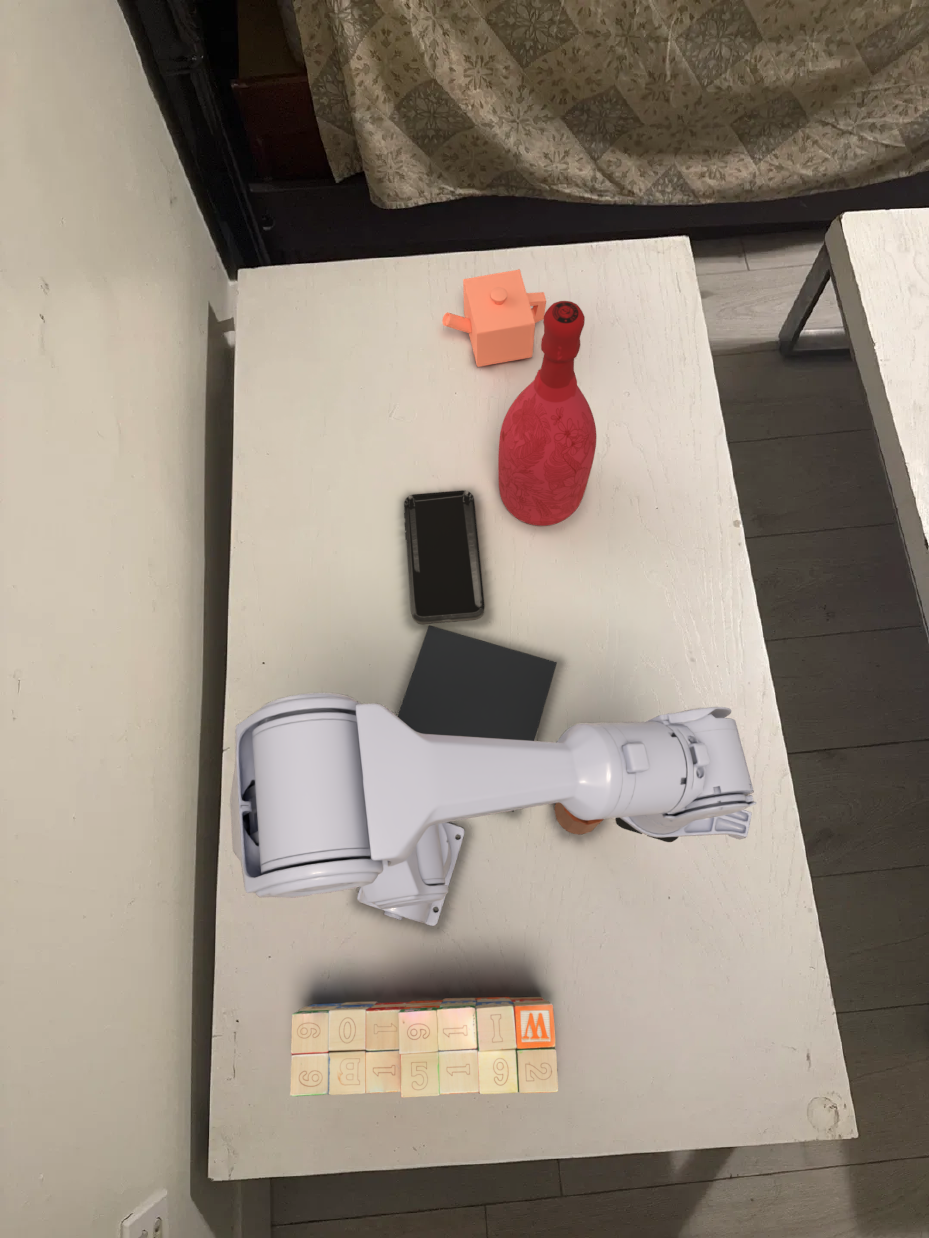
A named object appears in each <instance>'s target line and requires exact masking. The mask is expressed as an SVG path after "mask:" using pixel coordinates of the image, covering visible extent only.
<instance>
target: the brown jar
mask: <svg viewBox="0 0 929 1238" xmlns="http://www.w3.org/2000/svg"><path fill="white" fill-rule="evenodd" d="M553 810H554V815H555V818H556V821H557V823H558V824H559V826H560V827H561V828H562V829H564V830H565V831H566V832H568V833H569V834H570V833H571V834H574V835H579V836H580V835H584V834H588V833H591V832H593V831H594V829H596V828H597V827H598V826H599V825H600V824H601V823H602V822H603V821H604V820H605V819H595V820H582V819H579V818H577V817H575V816H574V815H572V814H571V813H570V812H569V811H568V810H567V809H566V808H565V807H564V806H563V805H562V804H561V803H560V802H558V803H554V808H553Z"/></svg>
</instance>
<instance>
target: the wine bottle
mask: <svg viewBox="0 0 929 1238" xmlns="http://www.w3.org/2000/svg"><path fill="white" fill-rule="evenodd" d="M585 318H586V316H585V315H584V313H583V310H582V309H581V307H580V306H579V305H578V304H577V303H575V302H573V301H570V300H559V301H555V302H553V303H552V304H551V305H549V307H548V308H547V309H546V310H545V314H544V319H543V320H542V321H543V322H542V323H543V335H542V337H541V341H540V350H541V351H542V353H543V357H542V362H541V367H540V368H539V369H538V370H537V372H536V375H535V377H534V379H533V380H532V382H530V383H529V384H528V385H527V386H525V388H524V389H523V390H522V391H521V392H520V393H519V394H518V395H517V396H516V398H515V399H514V401H513V402H512V403H511V405H510V406H509V408H508V410H507V412H506V414H505V416H504V418H503V421H502V423H501V427H500V432H499V439H498V441H499V442H498V454H497V455H498V462H497V463H498V465H497V466H498V467H497V469H498V470H497V471H498V490H499V495H500V498H501V501H502V503H503V505H504V507H505V508H506V510H507V511H508V512H509V513H510V515H512V516H513V517H514V518H516V519H517V520H519V521H521V522H523V523H525V524H529V525H532V526H537V527H538V526H540V527H544V526H545V527H546V526H552V525H556V524H559V523H561V522H563V521H565V520H566V519H568V518H569V517H571V516H572V515H573V514H574V513H575V512H576V511H577V509H578V508H579V506H580V504H581V503H582V501H583V498H584V496H585V492H586V490H587V485H588V483H589V478H590V475H591V471H592V467H593V464H594V459H595V454H596V449H597V448H596V447H597V426H596V422H595V418H594V414H593V412H592V409H591V407H590V404H589V402H588V401H587V398H586V396H585V394H584V393H583V392H582V390H581V389H580V387H579V385H578V379H577V376H576V373H575V359H576V358H577V356H578V355H579V352H580V348H581V335H582V333H583V332H582V331H583V329H584V327H585V320H586V319H585Z"/></svg>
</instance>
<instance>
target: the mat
mask: <svg viewBox="0 0 929 1238" xmlns="http://www.w3.org/2000/svg"><path fill="white" fill-rule="evenodd" d="M556 667H557V661H553V660H550V659H547V658H543V657H540V656H536V655H533V654H531V653H526V652H523V651H519V650H516V649H512V648H509V647H505V646H502V645H499V644H495V643H493V642H488V641H485V640H481V639H479V638H474V637H471V636H468V635H464V634H461V633H457V632H454V631H450V630H448V629H447V630H446V629H443V628H439V627H436V626H433V625H430V624H428V627H427V629H426V633H425V636H424V639H423V642H422V645H421V648H420V651H419V653H418V656H417V659H416V661H415V665H414V668H413V671H412V674H411V677H410V679H409V683H408V686H407V688H406V691H405V694H404V697H403V699H402V702H401V705H400V709H399V711H398V714H397V717H398V718H400V719H401V720H402V721H403V722H404V723H405V724H407V725H408V726H409V727H410V728H411V729H413V730H414V731H416V732H419V733H422V734H433V735H448V736H464V737H479V738H495V739H510V740H526V741H536V737H537V733H538V729H539V725H540V722H541V719H542V716H543V712H544V709H545V706H546V702H547V698H548V694H549V692H550V688H551V685H552V680H553V677H554V674H555V670H556ZM512 812H515V810H513V811H512Z"/></svg>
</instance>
